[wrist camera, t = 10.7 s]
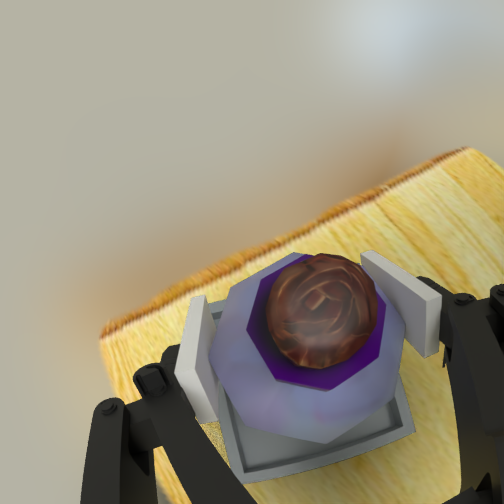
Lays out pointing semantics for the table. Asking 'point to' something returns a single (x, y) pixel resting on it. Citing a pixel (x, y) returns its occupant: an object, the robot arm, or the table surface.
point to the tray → (297, 450)
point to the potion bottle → (308, 347)
